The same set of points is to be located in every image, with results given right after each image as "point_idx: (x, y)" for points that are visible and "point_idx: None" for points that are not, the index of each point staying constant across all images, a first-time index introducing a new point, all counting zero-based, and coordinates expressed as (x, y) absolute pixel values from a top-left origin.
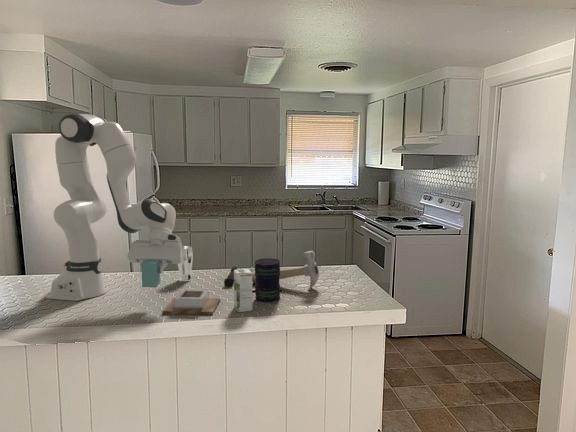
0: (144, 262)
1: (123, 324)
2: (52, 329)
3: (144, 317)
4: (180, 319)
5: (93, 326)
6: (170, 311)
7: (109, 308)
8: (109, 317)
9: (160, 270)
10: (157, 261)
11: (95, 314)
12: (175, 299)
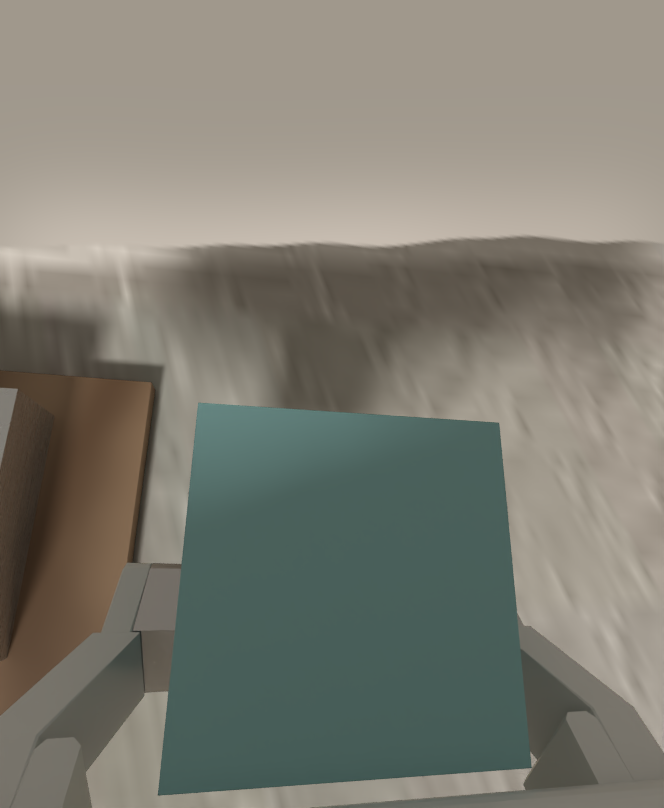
0: (463, 487)
1: (349, 259)
2: (636, 242)
3: (264, 347)
4: (8, 296)
5: (485, 252)
6: (87, 377)
7: (541, 511)
8: (468, 361)
9: (141, 563)
10: (182, 614)
11: (565, 411)
12: (13, 391)
